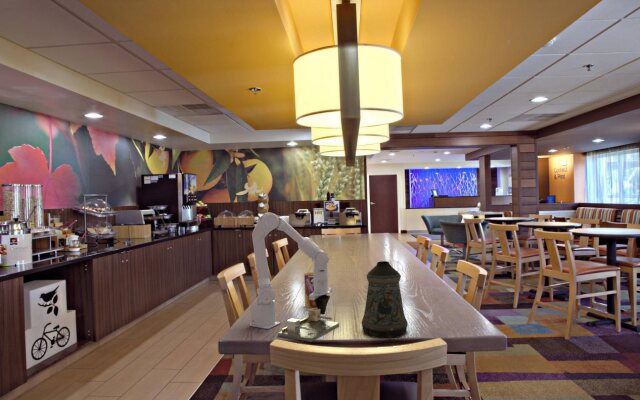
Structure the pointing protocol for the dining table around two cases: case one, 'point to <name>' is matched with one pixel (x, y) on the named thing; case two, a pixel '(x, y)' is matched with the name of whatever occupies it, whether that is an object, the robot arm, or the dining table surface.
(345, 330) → the dining table surface
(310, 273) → the candy box
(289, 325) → the fixed leg
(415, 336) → the dining table surface
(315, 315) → the slider
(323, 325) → the bolt plate
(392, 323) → the beer stein
